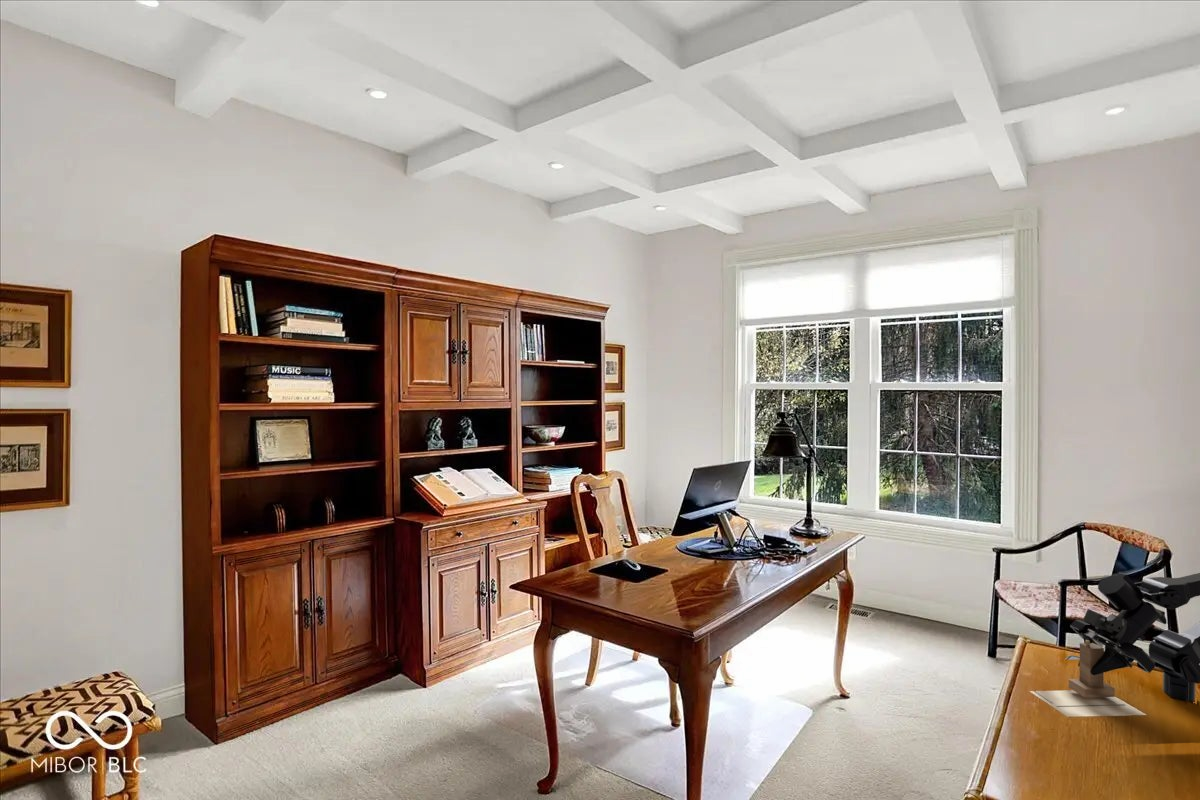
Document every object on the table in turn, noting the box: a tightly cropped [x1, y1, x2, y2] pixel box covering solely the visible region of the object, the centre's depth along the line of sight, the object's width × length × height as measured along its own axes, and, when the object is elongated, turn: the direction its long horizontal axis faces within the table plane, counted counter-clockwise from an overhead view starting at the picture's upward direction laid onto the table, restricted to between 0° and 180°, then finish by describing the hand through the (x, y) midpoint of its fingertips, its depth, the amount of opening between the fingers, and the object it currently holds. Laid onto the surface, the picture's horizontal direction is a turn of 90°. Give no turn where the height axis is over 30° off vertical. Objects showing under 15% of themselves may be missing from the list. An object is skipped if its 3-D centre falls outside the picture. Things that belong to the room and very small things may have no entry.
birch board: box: [1029, 689, 1147, 718], centre depth 149 cm, size 18×12×2 cm, turn 92°
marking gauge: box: [1068, 640, 1116, 698], centre depth 152 cm, size 7×5×12 cm
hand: (1085, 670), depth 152 cm, fingers closed on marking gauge, 3 cm apart
